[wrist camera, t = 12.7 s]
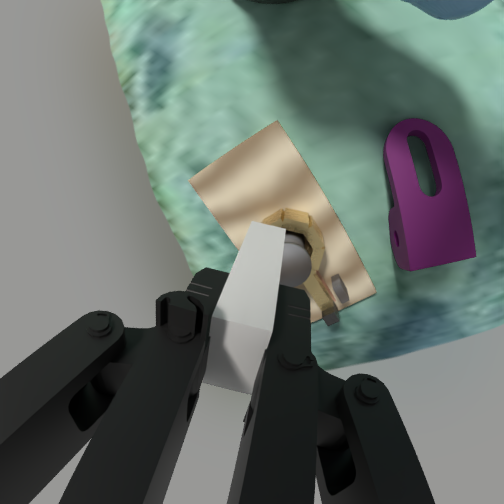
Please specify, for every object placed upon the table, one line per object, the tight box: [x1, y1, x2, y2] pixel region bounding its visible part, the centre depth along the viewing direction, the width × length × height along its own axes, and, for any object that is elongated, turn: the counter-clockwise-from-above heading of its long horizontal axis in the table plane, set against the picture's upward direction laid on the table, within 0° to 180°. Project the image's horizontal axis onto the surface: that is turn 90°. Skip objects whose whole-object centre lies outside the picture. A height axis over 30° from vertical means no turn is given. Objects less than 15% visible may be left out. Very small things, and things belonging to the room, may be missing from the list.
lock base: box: [188, 120, 377, 323], centre depth 37 cm, size 28×14×9 cm, turn 34°
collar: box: [261, 208, 339, 326], centre depth 39 cm, size 16×8×5 cm, turn 35°
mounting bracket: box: [383, 118, 476, 271], centre depth 34 cm, size 10×8×18 cm
